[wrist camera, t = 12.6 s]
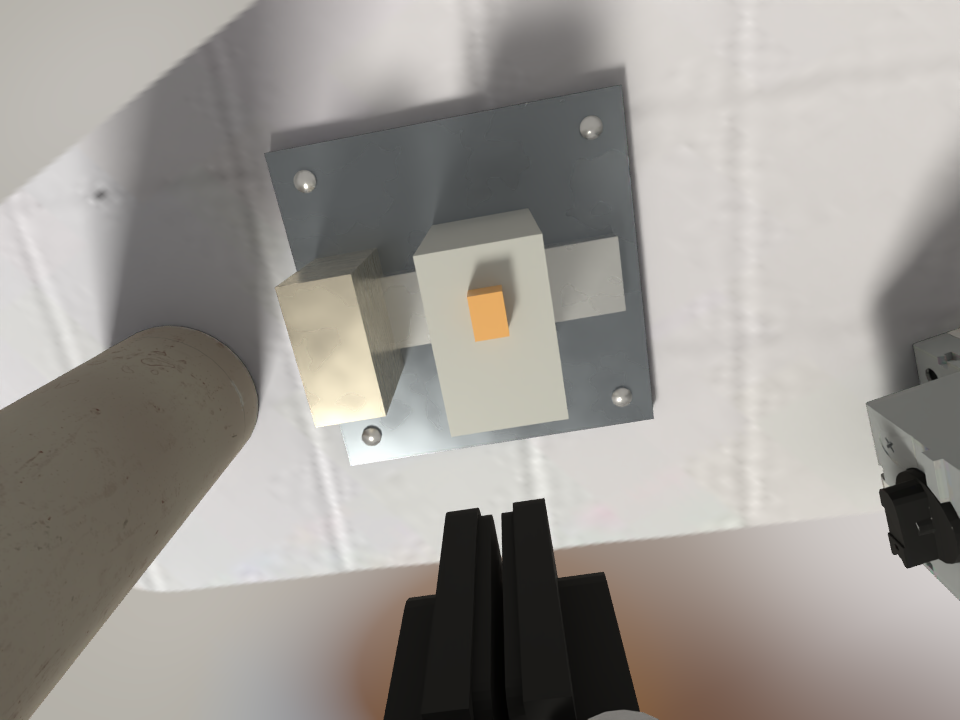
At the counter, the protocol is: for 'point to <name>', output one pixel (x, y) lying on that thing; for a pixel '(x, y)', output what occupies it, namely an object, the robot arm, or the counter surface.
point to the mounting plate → (446, 198)
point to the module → (491, 322)
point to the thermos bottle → (105, 489)
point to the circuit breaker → (923, 461)
